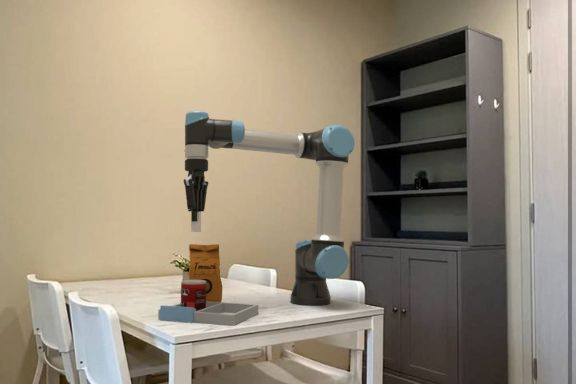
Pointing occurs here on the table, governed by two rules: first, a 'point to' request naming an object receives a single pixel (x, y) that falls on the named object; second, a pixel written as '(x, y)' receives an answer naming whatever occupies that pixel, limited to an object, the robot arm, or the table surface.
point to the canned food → (193, 294)
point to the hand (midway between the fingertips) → (196, 231)
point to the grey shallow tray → (209, 313)
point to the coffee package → (206, 269)
